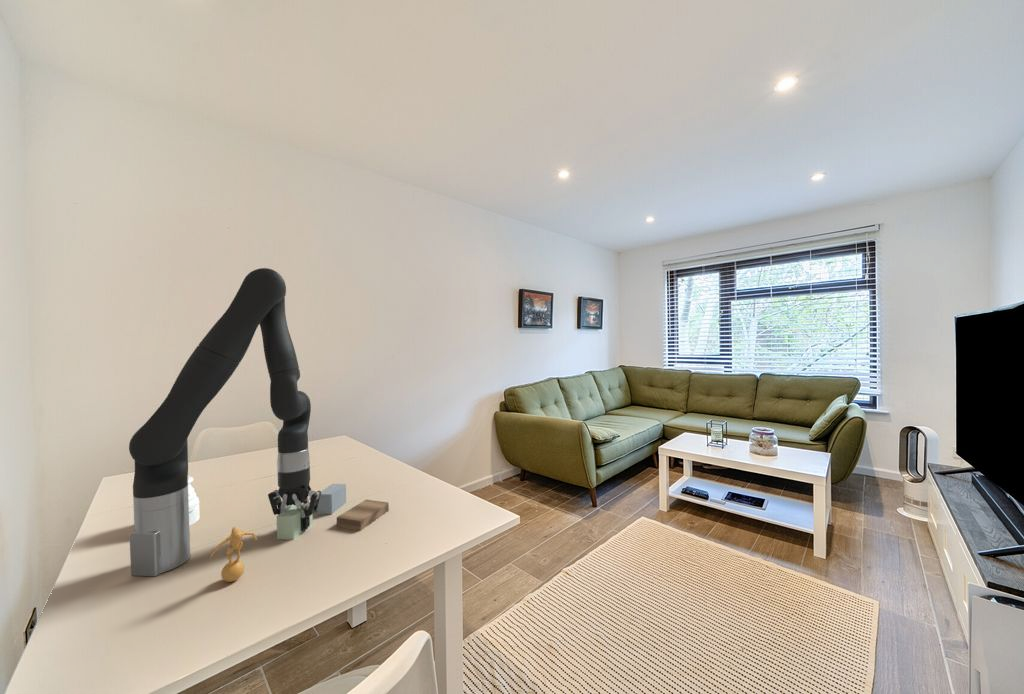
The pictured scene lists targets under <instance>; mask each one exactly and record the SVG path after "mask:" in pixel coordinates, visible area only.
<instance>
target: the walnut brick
mask: <svg viewBox="0 0 1024 694" xmlns="http://www.w3.org/2000/svg"><path fill="white" fill-rule="evenodd" d="M389 509H390V508H389V502H387V501H380V500H373V499H364V500H363V501H361V502H359V503H358V504H357V505H355V506H353V507H351V508H350V509H348V510H346V511H345V512H343V513H342V514H340V515H338V516H336V527H337V528H342V529H348V530H355V531H363V530H364V529H365V527H366V528H367V527H369V526H370V525H371V524H373V523H374V522H375V521H377V520H378V519H380V518H381V517H382V516H384V515H385V514H387V513H388V512H389V511H390V510H389ZM386 512H387V513H386ZM379 517H380V518H379ZM376 519H377V520H376ZM372 522H373V523H372Z"/></svg>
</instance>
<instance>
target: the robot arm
mask: <svg viewBox="0 0 1024 694" xmlns="http://www.w3.org/2000/svg"><path fill="white" fill-rule="evenodd" d="M286 295H287V286H286V282H285V280H284V278H283V276H282V275H281V274H280V273H279V272H278V271H276V270H274V269H271V268H267V267H264V268H263V267H262V268H257V269H254V270H252V271H251V272H248V273H247V274H246V276H245V277H244V279H243V281H242V283H241V284H240V287H239V289H238V291H237V292H236V294H235V296H234V297H233V300H232V301H231V302H230V304H229V306H228V307H227V309H226V310H225V312H224V313H223V314H222V315H221V317H219V318H218V320H217V321H216V322H215V323H214V325H213V326H212V327H211V328H210V329H209V331H208V332H207V334H206V335H205V336H204V337H203V338H202V339H201V340H200V342H199V343H198V345H197V346H196V347H195V349H194V350H193V351H192V353H191V354H190V356H189V357H188V358H187V360H186V362H185V363H184V365H183V366H182V369H181V370H180V372H179V374H178V375H177V377H176V379H175V381H174V383H173V385H172V387H171V388H170V390H169V393H168V394H167V396H166V397H165V399H164V400H163V402H162V403H161V404H160V405H159V407H158V408H157V409H156V410H155V412H153V414H152V415H151V416H150V417H149V418H148V419H147V421H145V423H144V424H143V425H142V426H141V427H140V428H139V429H138V430H137V431H136V432H134V434H133V435H132V436H131V438H130V441H129V443H128V450H129V454H130V456H131V458H132V459H133V460H134V475H133V483H132V496H133V497H132V498H133V499H132V500H133V527H134V530H133V531H130V532H129V554H130V555H129V556H130V558H129V559H130V561H129V562H130V575H131V576H141V577H142V576H144V577H146V576H147V577H157V576H159V575H160V574H162V573H165V572H168V571H171V570H174V569H175V568H177V567H180V566H182V565H183V564H184V563H186V562H187V561H188V560H189V559H190V557H191V538H190V535H191V533H190V526H189V502H188V476H189V453H188V452H189V451H188V449H189V448H188V438H189V436H190V434H191V432H192V430H193V428H194V426H195V425H196V424H197V421H198V419H199V418H200V416H201V415H202V413H203V412H204V410H205V409H206V408H207V407H208V405H210V403H211V402H212V401H213V399H215V397H216V396H217V395H218V394H219V392H220V391H221V389H223V387H224V386H225V385H226V383H228V381H229V379H231V377H232V376H233V374H234V373H235V372H236V370H237V368H238V367H239V365H240V363H241V362H242V361H243V358H244V357H245V355H246V353H247V352H248V349H249V347H250V345H251V343H252V342H253V341H252V340H253V337H254V335H255V333H256V330H257V329H258V327H259V326H260V327H259V328H260V331H261V336H262V337H261V338H262V347H263V354H264V359H265V363H266V368H267V372H268V376H269V379H270V387H269V400H270V408H271V411H272V413H273V415H274V416H275V417H276V418H277V419H279V420H280V421H282V427H281V429H280V430H279V432H278V433H277V458H276V459H277V460H276V467H277V486H278V489H275V490H273V491H271V492H269V493H268V494H267V496H268V500H269V503H270V506H271V511H272V513H273V515H275V516H278V515H279V514H281V513H282V512H284V511H286V510H287V509H288V508H291V506H293V505H296V507H297V510H299V512H300V515H301V531H304V532H305V531H306V530H308V529H309V528H310V527H309V525H310V515H312V514H314V513H317V508H318V504H319V500H320V496H321V491H322V490H317V491H316V490H312V488H311V485H310V483H311V466H310V464H311V461H310V460H311V459H310V458H311V457H310V451H309V437H308V434H309V433H308V429H309V425H310V420H311V419H310V417H311V412H312V411H311V410H312V409H311V408H312V406H311V400H310V397H309V396H308V395H307V393H306V392H304V391H301V390H298V389H299V387H298V381H299V380H300V379H301V378H300V377H301V370H300V365H299V361H298V357H297V353H296V350H295V347H294V343H293V340H292V337H291V333H290V331H289V327H288V321H287V317H286V300H285V299H286V298H285V297H286ZM302 503H303V504H302ZM309 503H310V504H309ZM304 508H305V509H304ZM308 527H309V528H308Z"/></svg>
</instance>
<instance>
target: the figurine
mask: <svg viewBox="0 0 1024 694" xmlns="http://www.w3.org/2000/svg"><path fill="white" fill-rule="evenodd" d="M244 536H252V537H253V541H255V542H257V541H258V537H257V536H256V534H255V533H254V531H242V530H240V529H239V528H238V527H237V526H234V527H232V528H231V533H230V535H229V536H228V537H226V538H225V539H224V540H222V542H220V543H219V544H218V545H217V546H216V548H214V550H213V551H212V552H211V555H210V556H209V557H210V558H209V559H210V560H211V559H212V557H213V555H214V554H215V553H216V552H218V550H219V548H220V547H222V546H223V545H225V544H226V543H228V542H230V544H231V546H228V547H226V548H227V550H226V552H225V554H226V555H227V560H228V562H227V563H226V564H225V565H224V566H223V568H222V569H221V572H220V574H221V579H222V580H223V581H224V582H226V583H227V582H228V583H231V582H234V581H237V580H238V579H240V578H241V576H242V575H244V572H245V564H244V563H243V562H242V561H241V560H240V556H241V549H242V547H243V546H244V543H243V541H242V539H243V537H244ZM234 550H236V556H237V557H236V559H234V560H233V559H232V558H233V556H232V555H231V554H232V553H233V552H234Z"/></svg>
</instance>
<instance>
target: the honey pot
mask: <svg viewBox="0 0 1024 694" xmlns="http://www.w3.org/2000/svg"><path fill="white" fill-rule="evenodd" d="M193 481H194V477H192V476H190V475H188V502H189V527H191V526H192V525H193V524H195V523H196V522H198V521H199V520H200V519H201V514H200V511H201V510H200V499H199V497H198V496H197V492H195V488H194V487H193V486H192V485H191V483H192V482H193Z"/></svg>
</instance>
